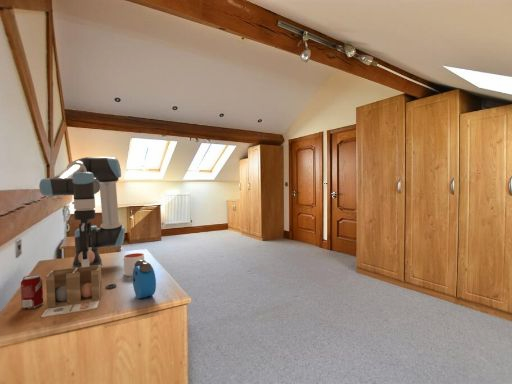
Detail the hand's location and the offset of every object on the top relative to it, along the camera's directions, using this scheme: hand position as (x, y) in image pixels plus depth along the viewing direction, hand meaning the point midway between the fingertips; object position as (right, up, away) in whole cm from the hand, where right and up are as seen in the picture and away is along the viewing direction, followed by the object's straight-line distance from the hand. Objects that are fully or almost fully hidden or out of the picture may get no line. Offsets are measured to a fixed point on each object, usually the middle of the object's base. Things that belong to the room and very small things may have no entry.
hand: (86, 264), depth 120 cm
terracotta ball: (0, -11, 0) cm, 11 cm away
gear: (+3, -14, +13) cm, 20 cm away
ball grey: (-8, -11, -3) cm, 14 cm away
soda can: (-18, -15, -6) cm, 24 cm away
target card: (0, -15, -10) cm, 17 cm away
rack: (-4, -14, -1) cm, 15 cm away
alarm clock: (+23, -14, +1) cm, 27 cm away
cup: (+6, -14, +33) cm, 36 cm away
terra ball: (0, +3, 0) cm, 3 cm away
